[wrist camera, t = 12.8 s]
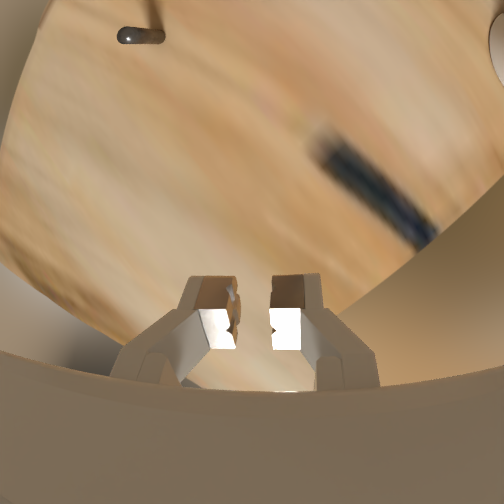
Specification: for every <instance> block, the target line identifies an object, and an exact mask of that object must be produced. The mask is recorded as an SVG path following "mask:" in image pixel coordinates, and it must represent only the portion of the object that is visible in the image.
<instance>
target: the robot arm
mask: <svg viewBox="0 0 504 504" xmlns="http://www.w3.org/2000/svg"><path fill="white" fill-rule="evenodd" d="M489 43H490V54H491V59H492V62H493V66H494V68H495V71H496V73H497V75H498V77H499V79H500V81H501V83H502V84H503V85H504V13H502V14H500V15H499V16H498V17H497V18H496V19H495V21H494V23H493V25H492V28H491V31H490V41H489ZM237 286H238V285H237V280H236V277H235V276H191V277H190V278H189V279H188V281H187V284H186V286H185V289H184V292H183V294H182V297H181V299H180V302H179V305H178V307H177V309H172V310H171V311H170V312H168V313H167V314H166V315H164V316H163V317H162V318H160V319H159V320H158V321H157V322H155V323H154V324H153V325H151V326H150V327H149V328H147V329H146V330H145V331H143V332H142V333H141V334H139V335H138V336H137V337H135V338H134V339H133V340H132V341H130V342H129V343H128V344H126V345H125V346H124V347H122V348H121V350H120V353H119V355H118V357H117V359H116V362H115V364H114V366H113V368H112V371H111V373H110V375H109V377H107V376H102V375H96V374H91V373H86V372H81V371H76V370H72V369H67V368H63V367H59V366H55V365H51V364H47V363H43V362H39V361H35V360H31V359H28V358H24V357H20V356H17V355H14V354H10V353H7V352H4V351H1V350H0V504H504V365H503V366H499V367H495V368H490V369H486V370H482V371H477V372H473V373H468V374H463V375H457V376H452V377H447V378H441V379H436V380H429V381H422V382H415V383H409V384H400V385H391V386H382V387H380V382H379V376H378V370H377V364H376V359H375V354H374V352H373V351H372V350H371V349H369V347H368V346H367V345H366V344H365V343H364V342H363V341H362V340H361V339H360V338H358V337H357V336H356V335H355V334H354V333H353V332H352V331H351V330H350V329H349V328H348V327H347V326H346V325H345V324H344V323H343V322H342V321H341V320H340V319H339V318H338V317H337V316H336V315H335V314H334V313H333V312H332V311H330V310H329V309H328V308H324V307H323V297H322V288H321V279H320V274H319V273H308V274H304V276H303V274H294V275H273V276H272V292H271V299H270V317H271V326H273V330H272V338H273V347H274V349H300V351H301V353H302V354H303V355H304V357H305V358H306V360H307V361H308V363H309V364H310V365H311V367H312V368H313V370H314V371H315V381H314V391H297V392H265V391H234V390H216V389H202V388H190V387H182V386H181V384H180V382H181V381H182V380H183V379H184V378H185V377H186V376H187V375H188V373H189V372H190V371H191V370H192V369H193V368H194V367H195V366H196V365H197V364H198V363H199V361H200V360H201V359H202V358H203V357H204V356H205V355H206V354H207V353H208V352H209V350H210V348H235V346H236V341H237V335H238V331H237V325H238V324H239V323H240V317H241V303H240V296H239V295H238V294H237V293H236V292H237Z"/></svg>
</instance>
